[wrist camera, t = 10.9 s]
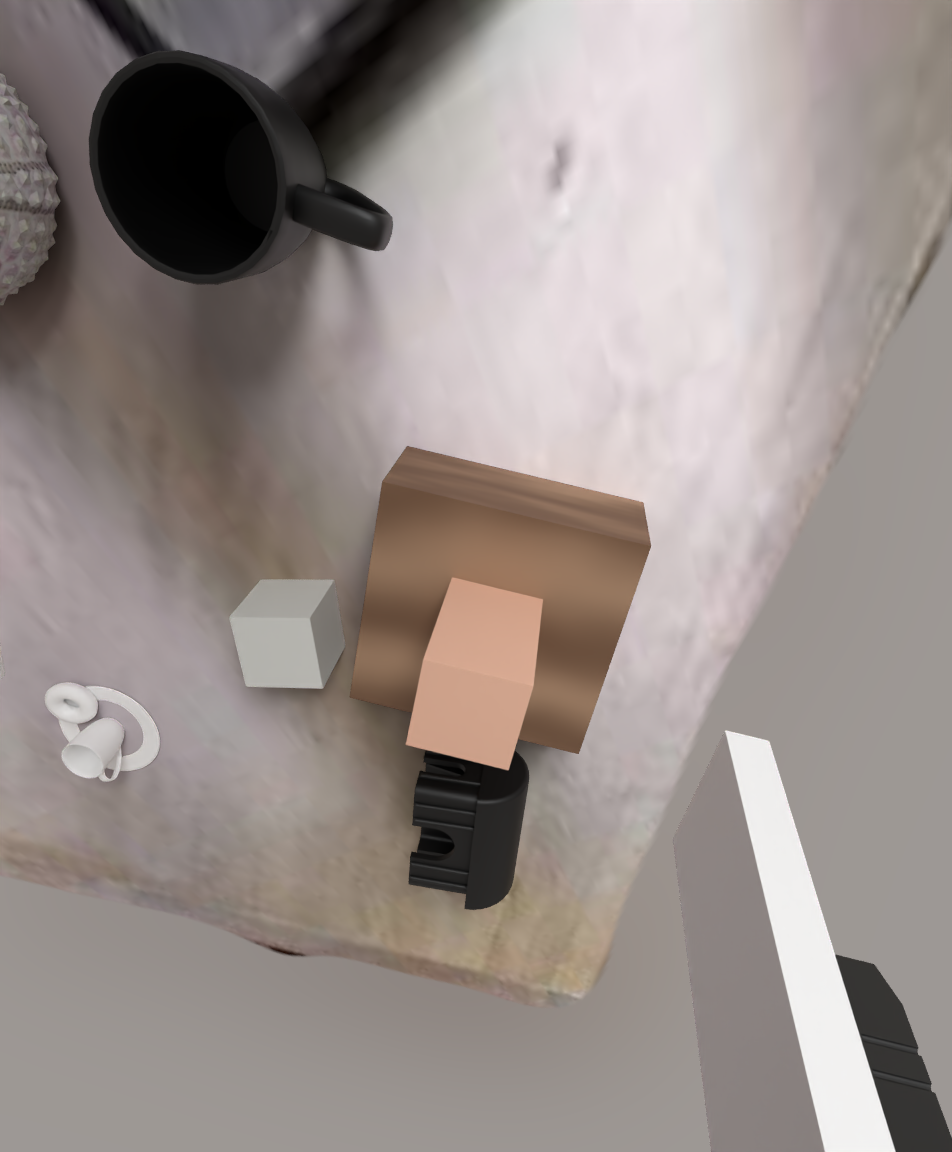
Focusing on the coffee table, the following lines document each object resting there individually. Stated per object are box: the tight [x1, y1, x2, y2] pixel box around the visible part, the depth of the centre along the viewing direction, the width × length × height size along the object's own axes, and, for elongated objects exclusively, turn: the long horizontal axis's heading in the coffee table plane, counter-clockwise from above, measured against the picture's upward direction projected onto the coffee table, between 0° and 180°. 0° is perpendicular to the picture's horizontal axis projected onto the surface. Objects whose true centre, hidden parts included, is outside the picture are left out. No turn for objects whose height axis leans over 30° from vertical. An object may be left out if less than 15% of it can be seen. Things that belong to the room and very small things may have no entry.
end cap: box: [409, 750, 529, 910], centre depth 52 cm, size 10×7×7 cm
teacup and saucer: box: [45, 682, 160, 782], centre depth 55 cm, size 9×8×4 cm
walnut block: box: [350, 446, 651, 754], centre depth 44 cm, size 14×14×6 cm
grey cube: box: [229, 580, 345, 689], centre depth 48 cm, size 5×5×5 cm
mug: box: [89, 50, 393, 284], centre depth 34 cm, size 8×12×10 cm
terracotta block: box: [406, 577, 543, 770], centre depth 38 cm, size 5×5×8 cm
